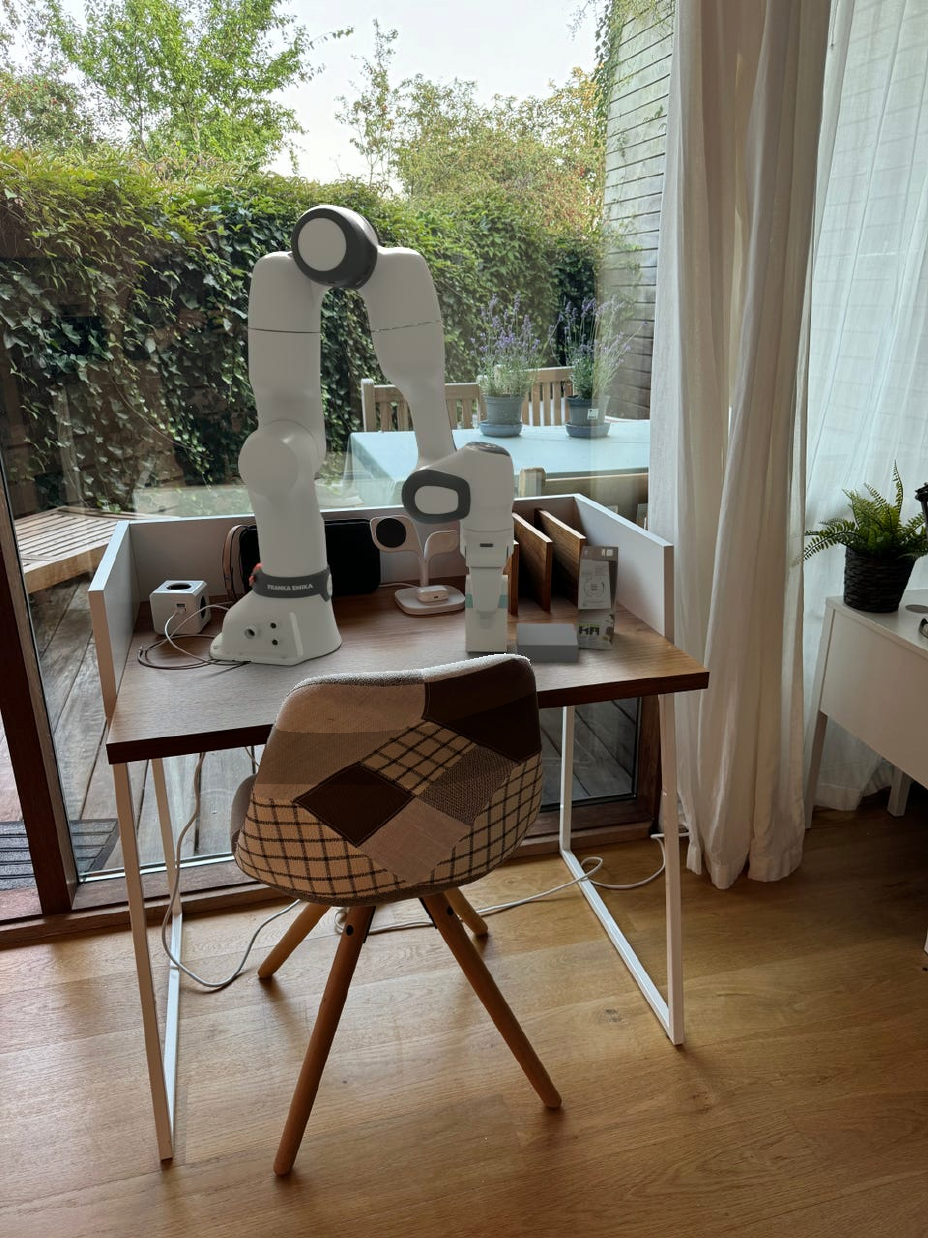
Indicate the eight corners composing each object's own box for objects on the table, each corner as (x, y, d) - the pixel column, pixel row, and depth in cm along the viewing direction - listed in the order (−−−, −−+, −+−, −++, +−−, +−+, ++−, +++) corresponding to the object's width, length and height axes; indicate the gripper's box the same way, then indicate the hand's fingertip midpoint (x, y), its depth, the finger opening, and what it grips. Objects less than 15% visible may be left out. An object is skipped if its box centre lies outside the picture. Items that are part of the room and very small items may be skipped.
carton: (465, 651, 149) (465, 584, 145) (466, 639, 154) (466, 574, 150) (507, 651, 149) (508, 584, 145) (506, 640, 154) (507, 575, 149)
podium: (517, 661, 147) (517, 645, 146) (516, 639, 156) (516, 623, 155) (577, 661, 146) (578, 645, 145) (572, 639, 156) (573, 623, 155)
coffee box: (612, 650, 151) (617, 560, 145) (575, 648, 152) (578, 558, 146) (615, 631, 159) (619, 545, 153) (579, 629, 160) (582, 544, 155)
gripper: (469, 526, 155) (469, 600, 159) (465, 559, 135) (465, 642, 140) (505, 526, 154) (504, 600, 159) (506, 560, 135) (505, 643, 140)
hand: (486, 620), depth 150 cm, fingers closed on carton, 5 cm apart
